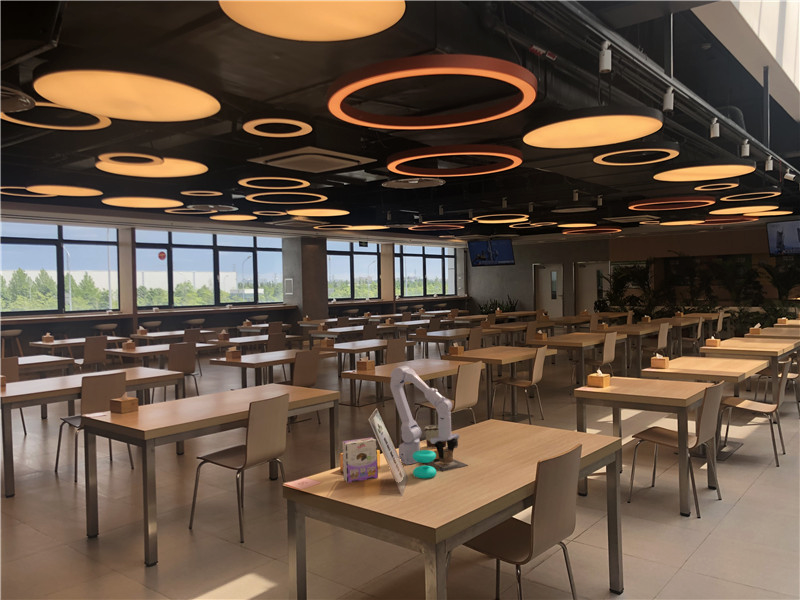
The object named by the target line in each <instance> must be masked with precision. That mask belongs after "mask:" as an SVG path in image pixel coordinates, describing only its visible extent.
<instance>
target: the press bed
mask: <svg viewBox="0 0 800 600" xmlns="http://www.w3.org/2000/svg"><path fill="white" fill-rule="evenodd" d="M423 464H424V465H427V466H432V467H434V468H435V469H436V471H437V470H438V471H440V472H447V471H450V470H455V469H459V468H464V467H468V463H467V464H466V463H464V462H461V461H459V460H458V459H457V460H456V459H454V458H453V462H451V463H446V464H444V463H442V462H440V461H439V459H435V460H433V461H431V462H427V463H423Z"/></svg>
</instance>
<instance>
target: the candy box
mask: <svg viewBox="0 0 800 600" xmlns="http://www.w3.org/2000/svg"><path fill="white" fill-rule="evenodd" d="M341 442H342V444H341V445H342V446H341V447H342V470H343V472H342V473H343V480H344V481H345V482H346V483H355V482H360V481H365V480H367V481H368V480H371V479H373V480H374V479H377V478H378V479H379V470H378V469H379V468H378V466H379V465H378V445H377V443H378V441H377V439H376V438H374V437H371V436H370V437H366V438H365V437H363V438H357V439H350V440H348V439H347V440H343V441H341Z"/></svg>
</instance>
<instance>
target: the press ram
mask: <svg viewBox="0 0 800 600" xmlns="http://www.w3.org/2000/svg"><path fill="white" fill-rule="evenodd" d="M455 440H457V443H456V445H455V447H454V449H457V448H458V445H459V439H455ZM443 449H448V446H446V447H444V448H443ZM429 450H430V451H433V452H435V454H436V458H435V459H439V454H438V451H437V449H436V448H433V449H429ZM435 459H434V460H435Z"/></svg>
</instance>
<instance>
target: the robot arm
mask: <svg viewBox="0 0 800 600" xmlns="http://www.w3.org/2000/svg"><path fill="white" fill-rule="evenodd" d="M406 382H407V383H412V384H413V385H414V386H415V387H416V388H418V389H419V390H420V391H422V392H423V394H424V397H425V400H426V399H427V401H428V402H429V403H431V405H433V406H434V407H435V410H436V412H437V415H438V416H437V418H438V421H437V423H438V424H437V425H438V428H439V436H437V437H435V438H431V443H432V444H434V445H435V447H434V448H435V449H437V451H438V454H439V458H443V448H445V447H444V444H443V443H442V441H446V447H448V449H449V450H452V451H453V452H454V450H455V448H454V447H455V445H456V443H457V440H455V439H458V440H459V439H460V433H459V434H458V433H452V413H451V410H452V409H453V402H452V401H451V400H450V399H449V398H446V397H445V396H443V395H442V394H441V393H439V392H438V391H439V390H438V389H437V388H434V387H429V385H428V384H426V383H425V381H424V380H422V378H420V376H419V375H418V374H417V373H416V371H415V370H414V369H412V368H411V366H410V365H408V364H404V365H402V366H398V367H395V368H393V370H392V371H391V372H390V385H389V387H390V391H391V394H392V397H393V399H394V403H395V405H396V410H397V412H398V415H399V419H400V421H401V427H400V431H401V435H400V436H401V439H402V441H403V443H400V444H399V445H398V459H399V458H400V459H401V461H402V462H401V463H402V464H404V465H405V466H406V465H412V464H418V463H419V462H417V461H415V460H414V459H413V453H414V452H416V451H419V450H421V448H420V447H421V445H420V442H421V440H420V438H421V437H422V433H423V431H422V429H421V427H420V426H419V425H418V422H417V421H416V420H415V419H414V418H413V415H412V411H411V409H410V406H409V404H408V403H409V402H408V400H407V399H408V398H407V396H406V393H405V390H404V388H403V387H404V385H405V383H406Z"/></svg>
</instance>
